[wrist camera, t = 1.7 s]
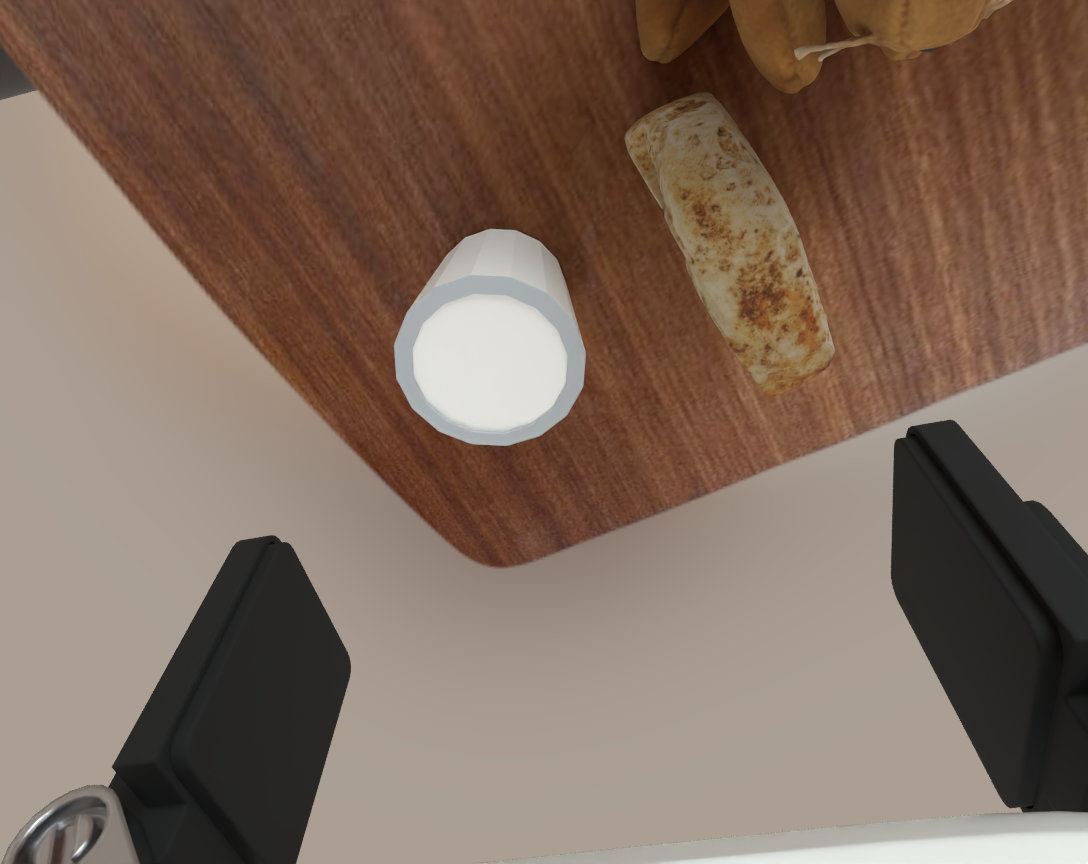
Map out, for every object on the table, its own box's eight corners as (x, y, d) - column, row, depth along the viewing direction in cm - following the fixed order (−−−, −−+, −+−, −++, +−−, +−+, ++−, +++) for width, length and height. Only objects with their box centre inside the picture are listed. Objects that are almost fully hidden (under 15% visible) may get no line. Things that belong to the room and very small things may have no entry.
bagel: (804, 285, 32) (891, 402, 24) (724, 326, 34) (780, 453, 25) (699, 54, 28) (763, 100, 19) (610, 111, 29) (633, 177, 20)
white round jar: (441, 372, 35) (418, 458, 29) (404, 226, 31) (369, 290, 25) (589, 352, 34) (597, 436, 28) (569, 201, 31) (573, 261, 25)
